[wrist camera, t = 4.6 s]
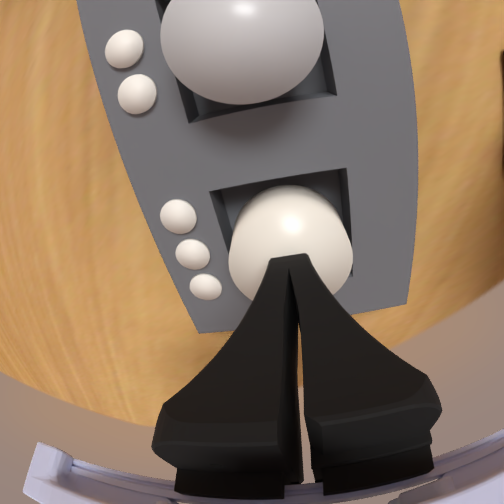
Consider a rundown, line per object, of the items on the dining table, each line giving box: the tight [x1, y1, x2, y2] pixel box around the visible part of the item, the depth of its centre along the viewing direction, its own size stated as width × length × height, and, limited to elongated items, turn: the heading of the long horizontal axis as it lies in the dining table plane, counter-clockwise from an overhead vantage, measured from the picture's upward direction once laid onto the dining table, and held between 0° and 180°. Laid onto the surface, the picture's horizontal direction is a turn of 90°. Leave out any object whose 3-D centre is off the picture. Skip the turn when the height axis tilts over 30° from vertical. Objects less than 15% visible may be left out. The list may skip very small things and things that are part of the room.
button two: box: [160, 0, 324, 105], centre depth 8 cm, size 5×5×2 cm
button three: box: [228, 185, 353, 301], centre depth 13 cm, size 5×5×2 cm
